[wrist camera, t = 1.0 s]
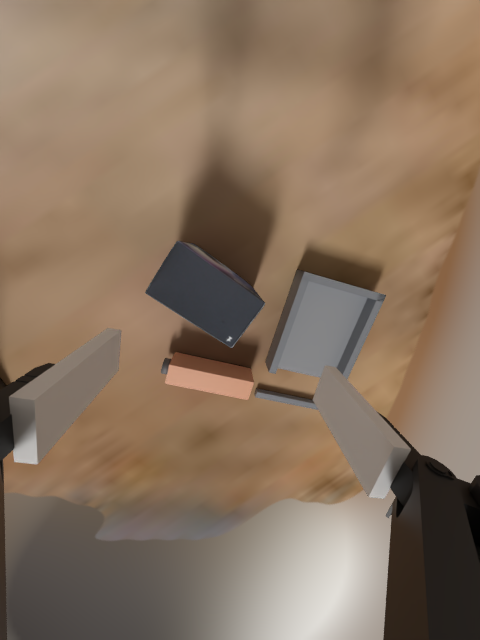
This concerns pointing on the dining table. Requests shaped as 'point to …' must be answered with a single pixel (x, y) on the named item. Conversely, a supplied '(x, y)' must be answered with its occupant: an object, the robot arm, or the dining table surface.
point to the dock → (320, 330)
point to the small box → (205, 293)
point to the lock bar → (208, 375)
